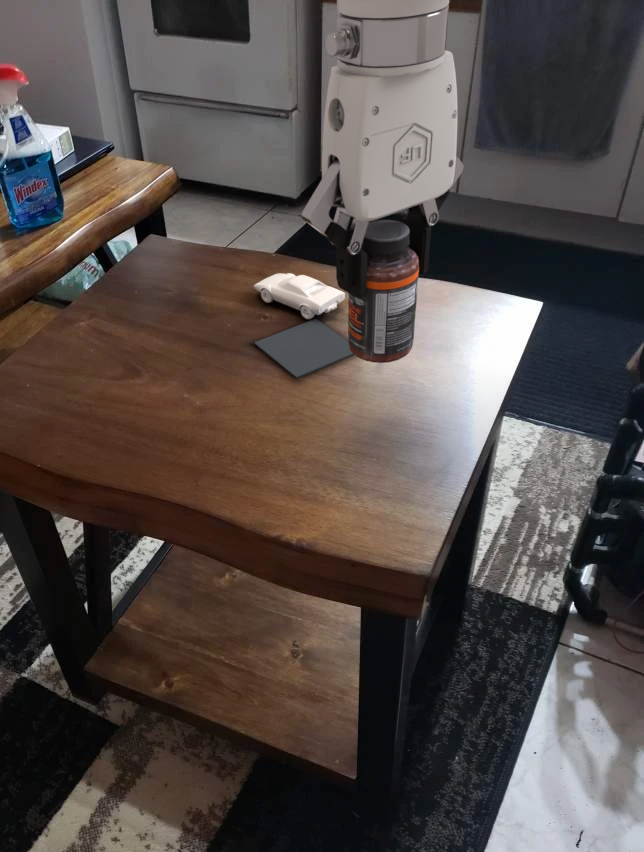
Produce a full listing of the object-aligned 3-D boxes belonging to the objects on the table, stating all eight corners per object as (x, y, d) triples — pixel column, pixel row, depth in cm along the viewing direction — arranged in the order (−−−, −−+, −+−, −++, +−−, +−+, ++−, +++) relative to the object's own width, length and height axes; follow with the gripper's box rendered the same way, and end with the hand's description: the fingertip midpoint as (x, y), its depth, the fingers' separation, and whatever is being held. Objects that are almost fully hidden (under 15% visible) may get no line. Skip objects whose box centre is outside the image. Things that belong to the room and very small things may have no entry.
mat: (315, 320, 93) (315, 318, 92) (360, 351, 87) (360, 350, 87) (254, 344, 89) (254, 342, 89) (296, 378, 84) (296, 376, 84)
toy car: (278, 282, 100) (277, 258, 98) (349, 309, 94) (349, 284, 91) (250, 297, 97) (248, 272, 95) (320, 326, 91) (321, 300, 89)
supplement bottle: (338, 339, 71) (337, 221, 63) (396, 326, 72) (402, 208, 64) (363, 372, 66) (365, 250, 59) (424, 357, 67) (434, 235, 60)
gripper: (321, 75, 47) (327, 330, 59) (521, 22, 53) (488, 264, 65) (257, 55, 51) (275, 295, 64) (447, 8, 57) (429, 236, 70)
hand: (382, 277), depth 64 cm, fingers closed on supplement bottle, 6 cm apart
